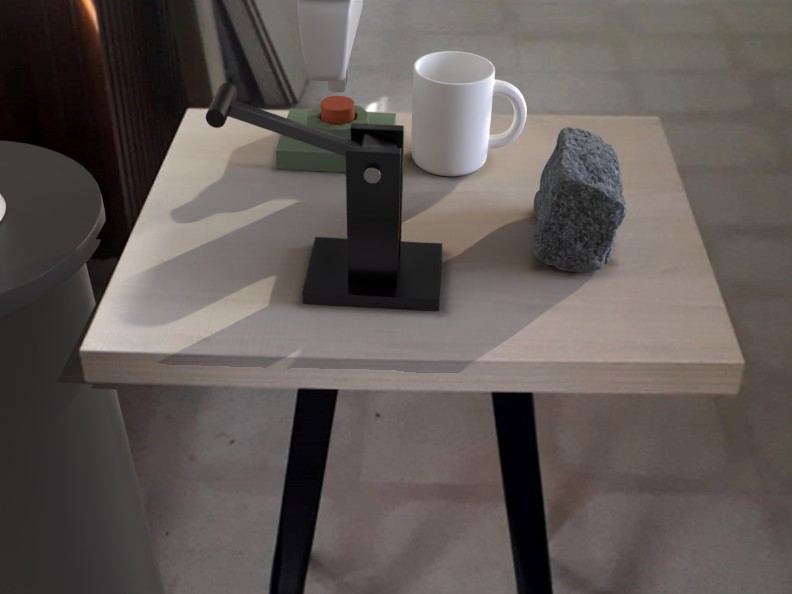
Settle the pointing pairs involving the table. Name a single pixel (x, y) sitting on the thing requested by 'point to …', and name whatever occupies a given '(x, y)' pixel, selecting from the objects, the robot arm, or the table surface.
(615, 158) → the stone
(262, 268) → the table surface
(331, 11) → the robot arm
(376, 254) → the lever bracket
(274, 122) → the press lever
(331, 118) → the stop button
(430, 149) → the mug
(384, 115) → the button block
